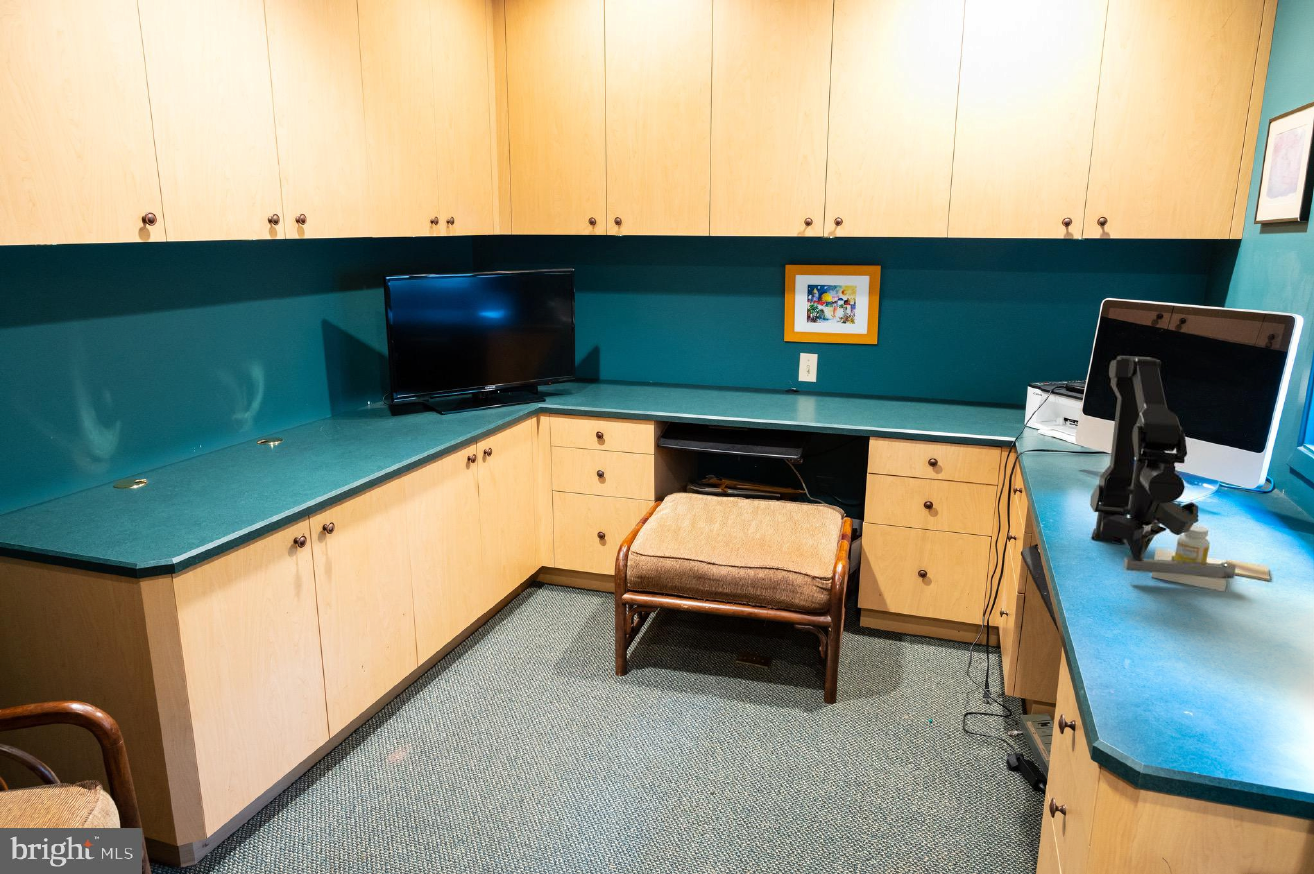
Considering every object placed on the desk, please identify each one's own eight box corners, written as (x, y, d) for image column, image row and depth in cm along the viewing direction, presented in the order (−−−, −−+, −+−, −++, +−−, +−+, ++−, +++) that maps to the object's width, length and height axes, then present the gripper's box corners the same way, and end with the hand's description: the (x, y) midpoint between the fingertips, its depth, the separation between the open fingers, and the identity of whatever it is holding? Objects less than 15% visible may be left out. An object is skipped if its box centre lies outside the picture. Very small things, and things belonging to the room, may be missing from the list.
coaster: (1225, 561, 177) (1226, 559, 176) (1267, 568, 173) (1267, 566, 173) (1226, 573, 171) (1226, 570, 171) (1269, 581, 167) (1269, 578, 167)
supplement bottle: (1181, 579, 168) (1190, 532, 165) (1166, 567, 173) (1174, 522, 170) (1209, 579, 168) (1218, 532, 165) (1193, 568, 173) (1201, 523, 170)
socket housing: (1154, 557, 178) (1156, 548, 178) (1223, 569, 172) (1225, 560, 172) (1151, 577, 168) (1153, 567, 168) (1224, 591, 162) (1226, 581, 162)
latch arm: (1230, 573, 165) (1232, 562, 164) (1236, 578, 162) (1238, 567, 162) (1122, 566, 168) (1124, 555, 167) (1127, 571, 165) (1128, 560, 165)
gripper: (1165, 506, 152) (1152, 588, 156) (1220, 487, 161) (1205, 564, 166) (1104, 489, 161) (1093, 566, 165) (1159, 471, 170) (1147, 545, 175)
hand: (1137, 560), depth 167 cm, fingers closed
